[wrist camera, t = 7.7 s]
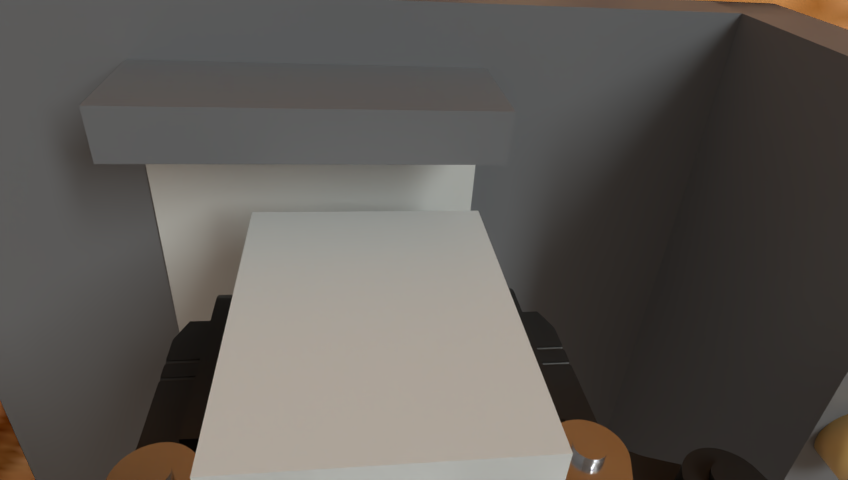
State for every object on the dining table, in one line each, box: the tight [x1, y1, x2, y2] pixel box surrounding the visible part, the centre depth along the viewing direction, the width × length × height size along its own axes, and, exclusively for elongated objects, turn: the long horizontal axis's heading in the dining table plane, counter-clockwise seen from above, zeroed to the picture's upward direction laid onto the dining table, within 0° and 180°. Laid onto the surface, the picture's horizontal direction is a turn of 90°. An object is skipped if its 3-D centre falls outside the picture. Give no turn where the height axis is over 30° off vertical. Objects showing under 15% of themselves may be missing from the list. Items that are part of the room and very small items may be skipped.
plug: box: [190, 211, 573, 480], centre depth 11 cm, size 4×4×7 cm
